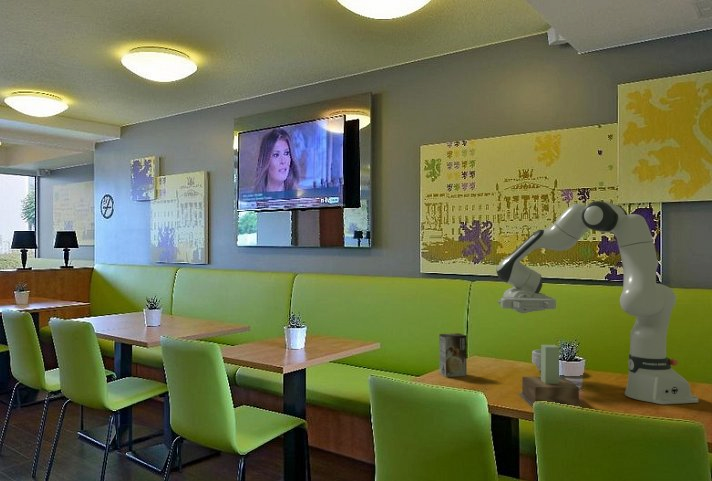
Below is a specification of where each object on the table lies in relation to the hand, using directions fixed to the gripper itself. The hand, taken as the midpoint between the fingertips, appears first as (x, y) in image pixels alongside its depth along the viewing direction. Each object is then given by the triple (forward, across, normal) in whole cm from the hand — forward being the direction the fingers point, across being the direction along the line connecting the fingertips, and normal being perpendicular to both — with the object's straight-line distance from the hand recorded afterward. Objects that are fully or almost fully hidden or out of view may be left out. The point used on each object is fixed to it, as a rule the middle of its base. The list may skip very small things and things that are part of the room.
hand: (533, 305), depth 206 cm
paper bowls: (-27, +16, +30) cm, 43 cm away
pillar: (+17, 0, +24) cm, 29 cm away
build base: (+17, 0, +30) cm, 34 cm away
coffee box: (-19, -26, +30) cm, 44 cm away
